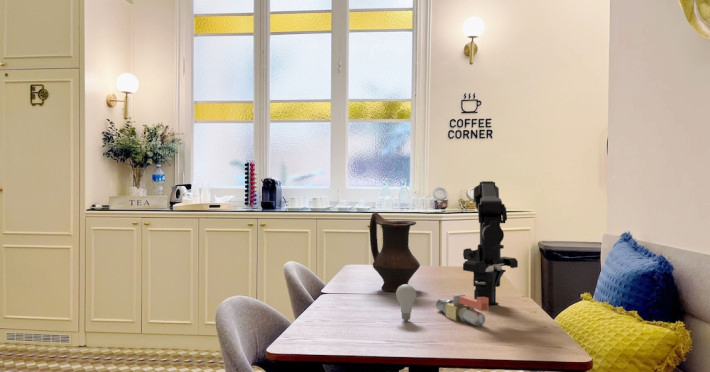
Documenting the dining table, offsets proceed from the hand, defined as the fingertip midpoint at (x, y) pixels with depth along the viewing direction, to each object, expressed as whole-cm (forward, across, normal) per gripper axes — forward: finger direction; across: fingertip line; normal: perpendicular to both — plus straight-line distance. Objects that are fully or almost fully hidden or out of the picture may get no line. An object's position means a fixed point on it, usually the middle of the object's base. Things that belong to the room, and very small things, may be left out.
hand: (490, 292), depth 169 cm
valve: (+8, +7, -7) cm, 12 cm away
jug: (+9, -8, -56) cm, 57 cm away
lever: (+4, +8, -1) cm, 9 cm away
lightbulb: (+8, +22, -13) cm, 27 cm away
